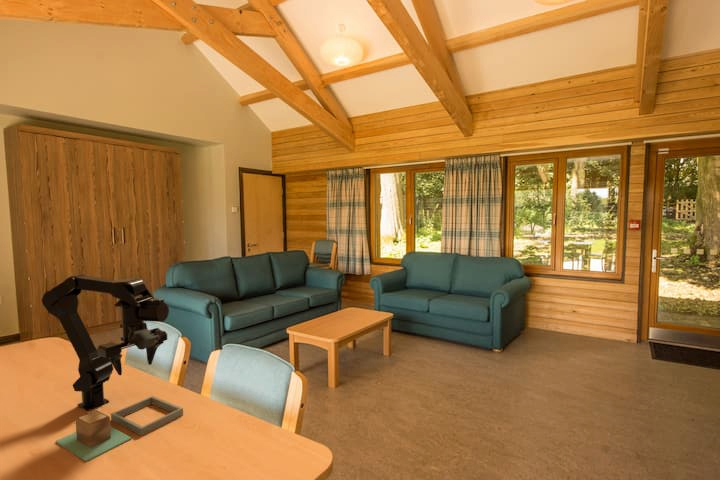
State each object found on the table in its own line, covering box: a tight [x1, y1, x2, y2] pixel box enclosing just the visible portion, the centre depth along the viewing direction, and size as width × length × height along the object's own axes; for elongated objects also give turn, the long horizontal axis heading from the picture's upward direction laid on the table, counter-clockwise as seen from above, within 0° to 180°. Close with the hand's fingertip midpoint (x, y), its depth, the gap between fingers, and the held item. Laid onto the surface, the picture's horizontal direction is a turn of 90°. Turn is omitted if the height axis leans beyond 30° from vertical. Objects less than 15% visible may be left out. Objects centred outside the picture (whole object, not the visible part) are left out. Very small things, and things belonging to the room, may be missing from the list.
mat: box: [55, 426, 132, 463], centre depth 103 cm, size 16×11×1 cm
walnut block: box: [75, 409, 111, 448], centre depth 103 cm, size 5×7×6 cm
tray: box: [110, 395, 184, 437], centre depth 114 cm, size 16×13×2 cm
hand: (135, 369), depth 120 cm, fingers open, 9 cm apart
